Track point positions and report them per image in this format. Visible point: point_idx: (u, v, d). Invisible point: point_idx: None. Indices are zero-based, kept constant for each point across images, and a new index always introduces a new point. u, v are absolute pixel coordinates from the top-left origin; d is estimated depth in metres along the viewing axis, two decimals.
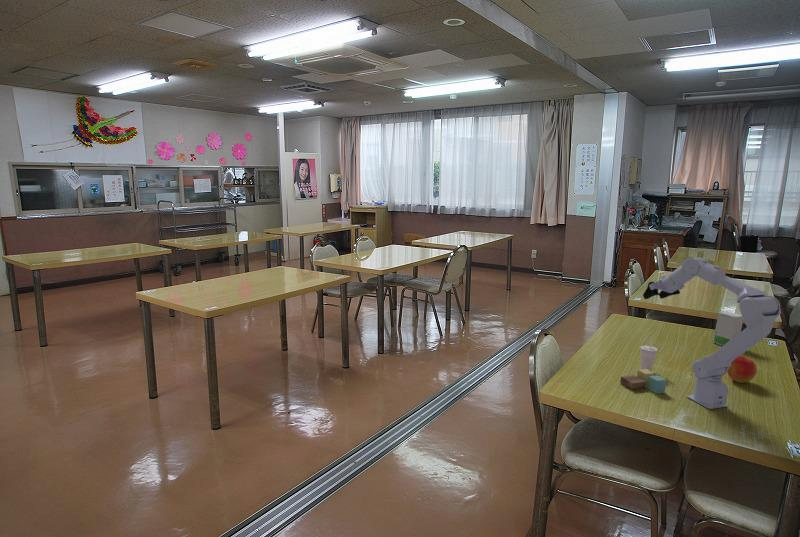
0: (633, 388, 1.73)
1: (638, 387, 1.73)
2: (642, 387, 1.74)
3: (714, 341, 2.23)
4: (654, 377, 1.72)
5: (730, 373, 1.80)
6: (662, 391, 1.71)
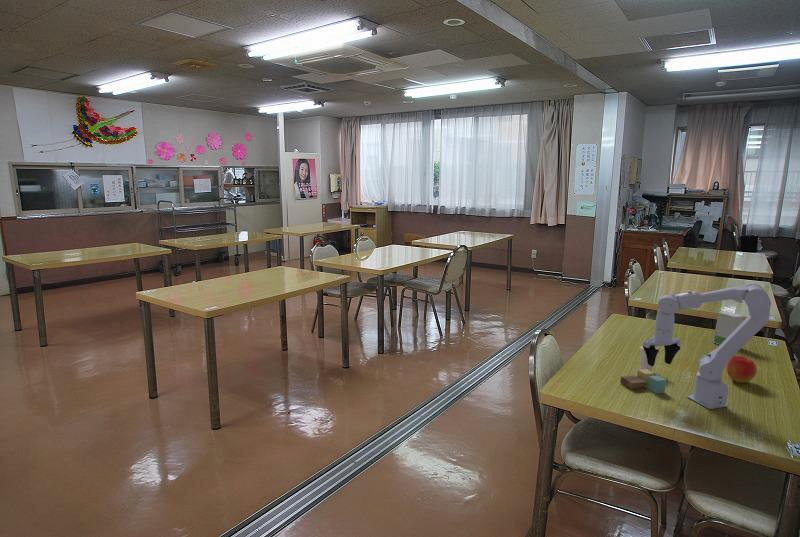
0: (633, 388, 1.73)
1: (638, 387, 1.73)
2: (642, 387, 1.74)
3: (714, 341, 2.23)
4: (654, 377, 1.72)
5: (730, 373, 1.80)
6: (662, 391, 1.71)
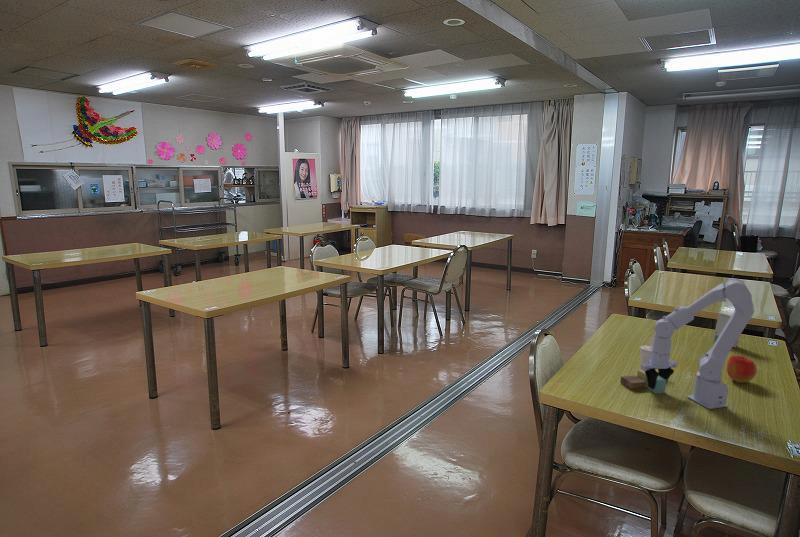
0: (633, 388, 1.73)
1: (638, 387, 1.73)
2: (642, 387, 1.73)
3: (714, 341, 2.23)
4: None
5: (730, 373, 1.80)
6: (662, 391, 1.71)
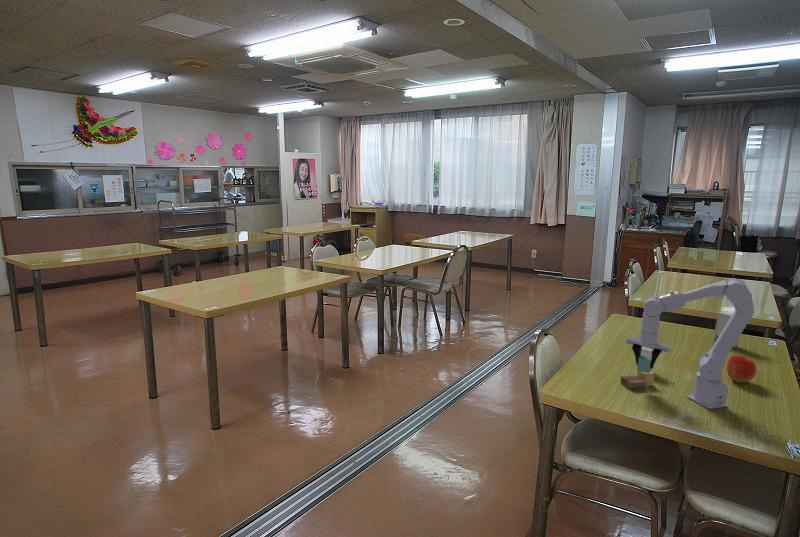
0: (632, 388, 1.73)
1: (637, 387, 1.73)
2: (642, 387, 1.73)
3: (714, 341, 2.23)
4: (645, 356, 1.73)
5: (730, 373, 1.80)
6: (646, 371, 1.71)
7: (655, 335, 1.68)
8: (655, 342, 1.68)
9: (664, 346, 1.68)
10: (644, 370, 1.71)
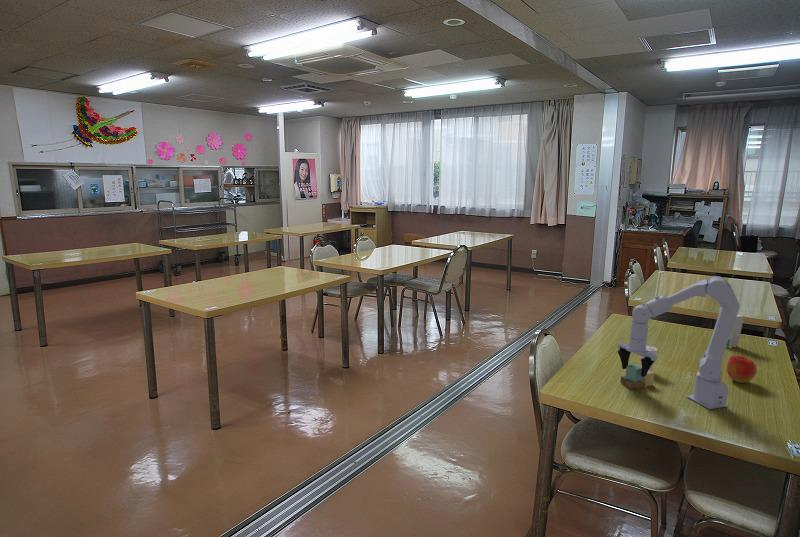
0: (632, 388, 1.73)
1: (637, 387, 1.73)
2: (641, 387, 1.73)
3: None
4: (635, 366, 1.75)
5: (730, 373, 1.80)
6: (632, 380, 1.73)
7: (641, 342, 1.70)
8: (642, 349, 1.70)
9: (650, 354, 1.69)
10: (631, 379, 1.74)
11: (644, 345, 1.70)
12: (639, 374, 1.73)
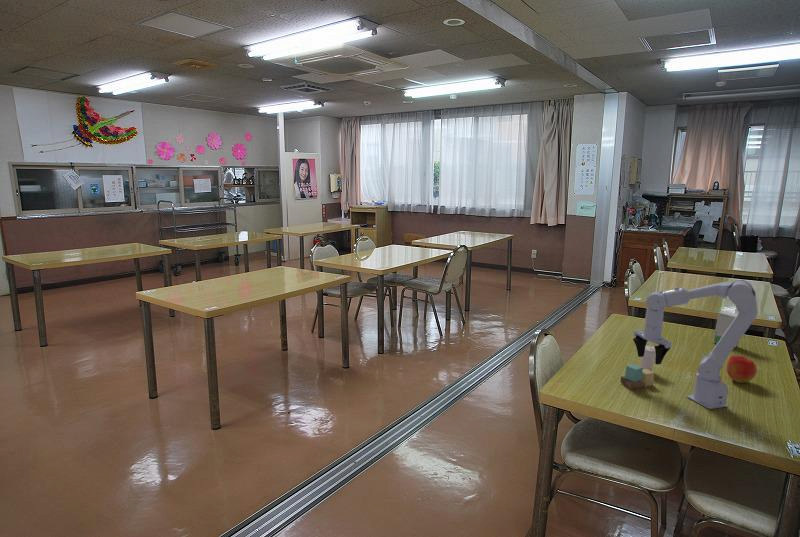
0: (632, 388, 1.73)
1: (637, 387, 1.73)
2: (641, 387, 1.73)
3: (714, 341, 2.23)
4: (634, 365, 1.75)
5: (730, 373, 1.80)
6: (632, 380, 1.73)
7: (655, 329, 1.69)
8: (656, 336, 1.70)
9: (664, 341, 1.68)
10: (630, 379, 1.74)
11: (659, 332, 1.69)
12: (639, 374, 1.73)
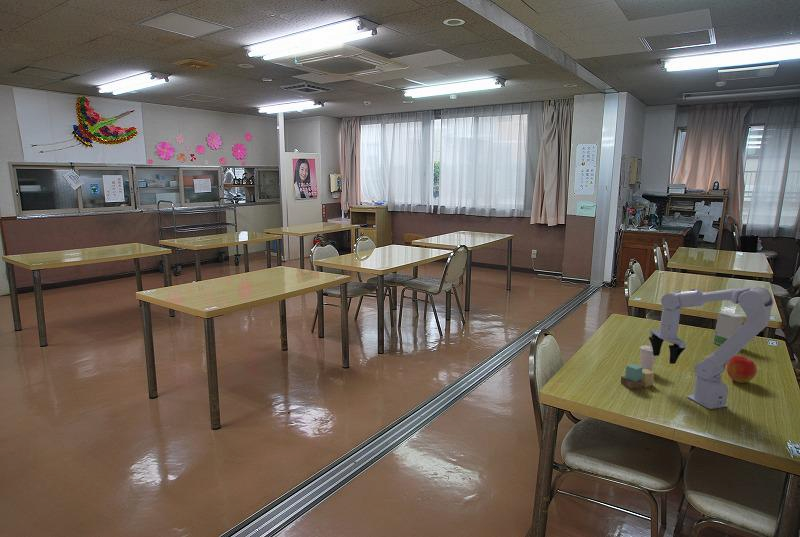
0: (632, 388, 1.73)
1: (637, 387, 1.73)
2: (642, 387, 1.73)
3: (714, 341, 2.23)
4: (634, 365, 1.76)
5: (730, 373, 1.80)
6: (632, 379, 1.74)
7: (671, 328, 1.70)
8: (671, 336, 1.70)
9: (679, 341, 1.68)
10: (631, 378, 1.74)
11: (674, 332, 1.70)
12: (639, 373, 1.74)
